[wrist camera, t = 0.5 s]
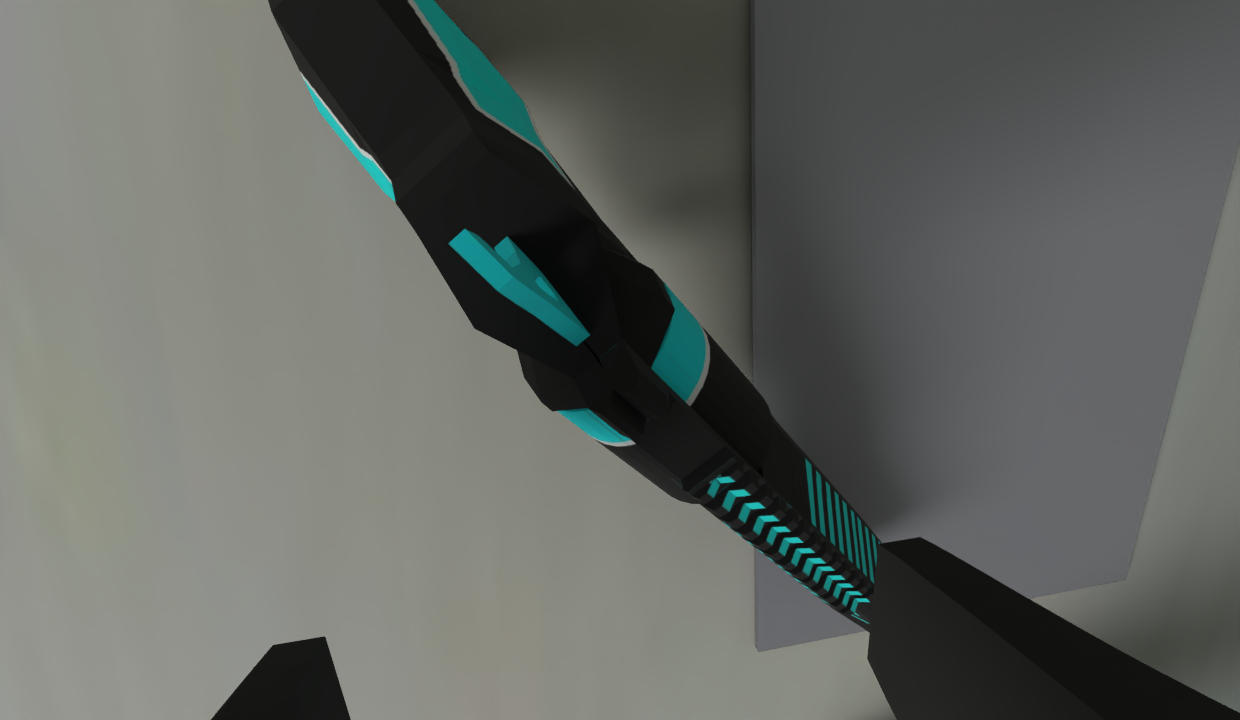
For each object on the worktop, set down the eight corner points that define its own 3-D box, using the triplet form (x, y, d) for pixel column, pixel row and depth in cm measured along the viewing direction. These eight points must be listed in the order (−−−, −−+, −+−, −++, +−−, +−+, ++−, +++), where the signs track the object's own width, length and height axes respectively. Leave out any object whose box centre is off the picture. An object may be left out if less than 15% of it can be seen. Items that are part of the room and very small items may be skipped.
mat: (1118, 574, 25) (1125, 579, 25) (755, 645, 23) (758, 652, 23) (1328, -250, 16) (1343, -256, 15) (748, -229, 14) (753, -235, 14)
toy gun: (713, 442, 26) (870, 684, 19) (242, 2, 13) (155, 235, 6) (773, 395, 26) (959, 623, 18) (349, -110, 13) (406, -17, 5)
